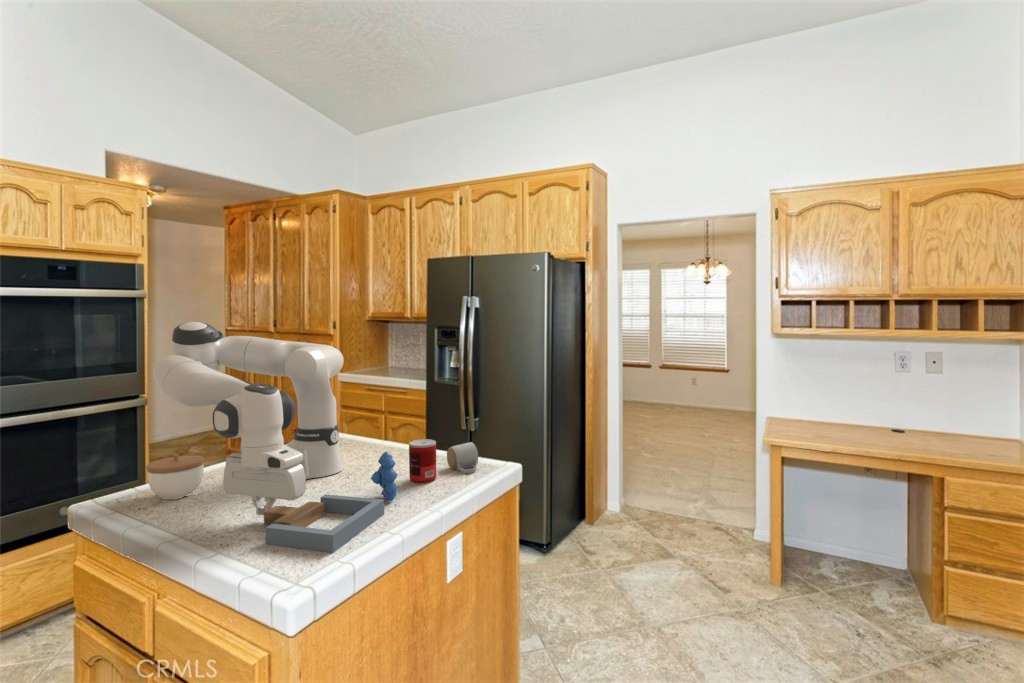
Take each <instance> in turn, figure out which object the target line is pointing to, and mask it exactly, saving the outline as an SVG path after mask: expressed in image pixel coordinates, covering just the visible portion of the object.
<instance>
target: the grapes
mask: <svg viewBox="0 0 1024 683" xmlns="http://www.w3.org/2000/svg"><path fill="white" fill-rule="evenodd" d="M393 458H394V457H393V455H392V454H391V453H390V452H389V451H384V452H383V453H382V454H381V456H380V457H379V459H378V461H377V462H378V463H379V465H380V466H379V468H378V469H377V470H376V471H375V472H373V474H372V475H371V477H370V480H371V481H372V482H373V483H374V484H375V485H379V486H380V487H381V488H382V489H383V490H382V491H381V495H382V496H383V497H384V498H385V500H387V501H388V502H392V501H394V499H395V498H396V496H397V491H398V488H399V486H398V485H397V483H395V481H396V480H397V477H398V473H397V472H396V471H395V470H394V466H395V465H396V462H395V460H394V459H393Z"/></svg>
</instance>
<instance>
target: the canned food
mask: <svg viewBox="0 0 1024 683" xmlns="http://www.w3.org/2000/svg"><path fill="white" fill-rule="evenodd" d="M408 460H409V462H408V464H409V466H408V468H409V471H408V472H409V473H408V474H409V481H410V482H411V483H413V484H417V483H418V484H419V483H424V484H429V483H432V482H434V481H436V479H437V441H436V440H434V439H429V438H428V439H427V438H424V439H422V438H421V439H415V440H412V441H410V442H409V443H408ZM428 482H429V483H428ZM419 485H420V484H419Z"/></svg>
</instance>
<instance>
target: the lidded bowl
mask: <svg viewBox="0 0 1024 683" xmlns="http://www.w3.org/2000/svg"><path fill="white" fill-rule="evenodd" d="M204 463H205V458H204V456H201V455H189V454H188V455H180V454H179V453H175V454H172V457H171V456H170V457H165V458H162V459H158V460H154V461H152V462H149V463H148V464H147V465H146V472H147V481H148V484H149V488H150V490H151V491H152V493H154V494H155V495H156V496H158V497H160V499H161V498H162V499H161V500H163V499H174V500H178V499H177V498H180V499H182V498H181V497H184V496H187V495H189V494H191V493H193V494H194V491H196V490H197V488H198V487H199V486H200V484H201V483H202V481H203V476H204V467H205V465H204ZM191 495H192V494H191ZM187 497H188V496H187ZM184 498H185V497H184Z"/></svg>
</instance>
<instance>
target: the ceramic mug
mask: <svg viewBox="0 0 1024 683" xmlns="http://www.w3.org/2000/svg"><path fill="white" fill-rule="evenodd" d="M446 460H447V461H446V462H447V464H448V467H449V468H450V469H451V470H454V471H455V470H458V471H460V472H461V473H463V474H466V473H469V474H473V473H475V472H476V471H477V466H478V463H479V452H478V448H477V446H476V445H475V444H474V442H472V441H470V442H466V443H461V444H456V445H453V446H450V447H449V448H447V451H446Z"/></svg>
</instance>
